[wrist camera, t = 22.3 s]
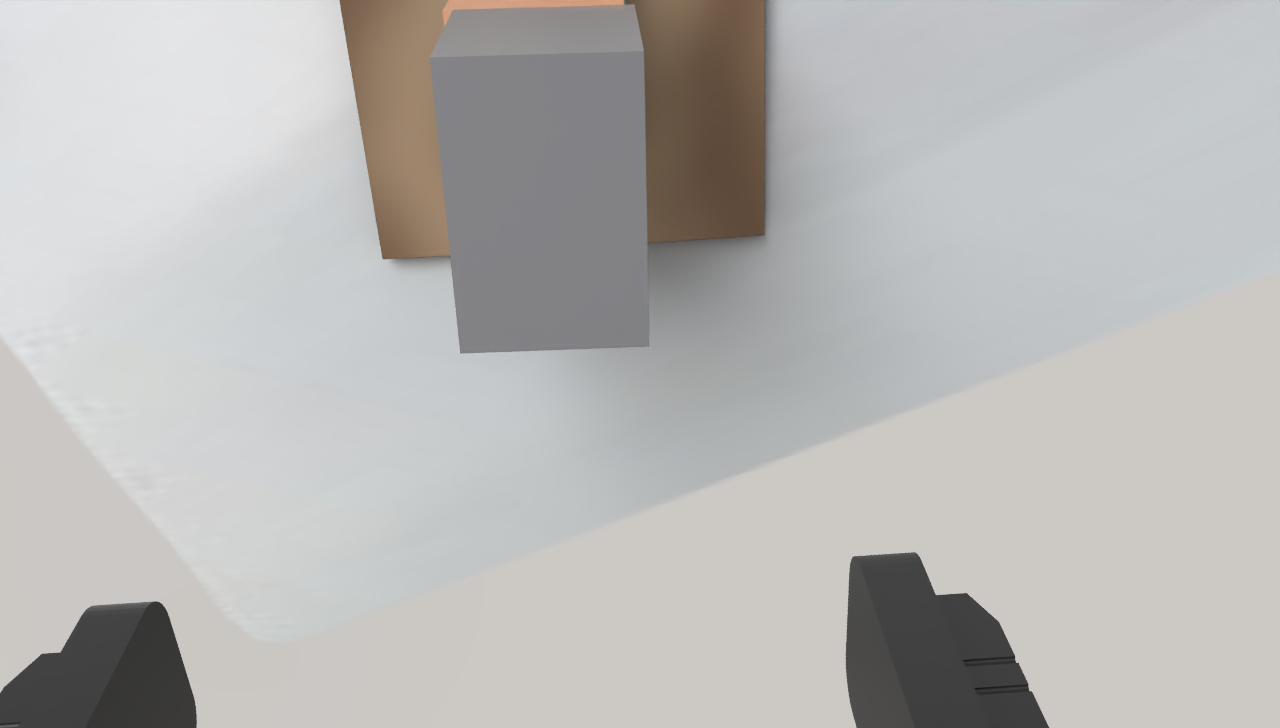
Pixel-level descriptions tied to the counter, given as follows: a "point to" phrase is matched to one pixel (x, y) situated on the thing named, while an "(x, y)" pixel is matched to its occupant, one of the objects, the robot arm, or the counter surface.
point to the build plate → (674, 118)
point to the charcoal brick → (544, 176)
